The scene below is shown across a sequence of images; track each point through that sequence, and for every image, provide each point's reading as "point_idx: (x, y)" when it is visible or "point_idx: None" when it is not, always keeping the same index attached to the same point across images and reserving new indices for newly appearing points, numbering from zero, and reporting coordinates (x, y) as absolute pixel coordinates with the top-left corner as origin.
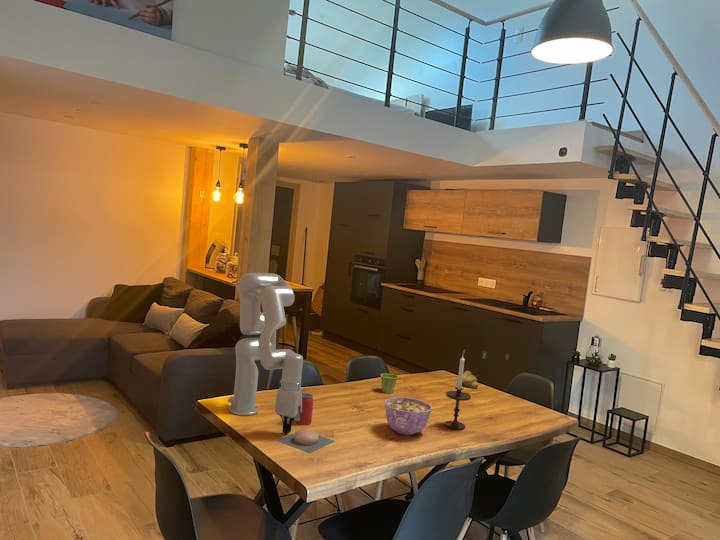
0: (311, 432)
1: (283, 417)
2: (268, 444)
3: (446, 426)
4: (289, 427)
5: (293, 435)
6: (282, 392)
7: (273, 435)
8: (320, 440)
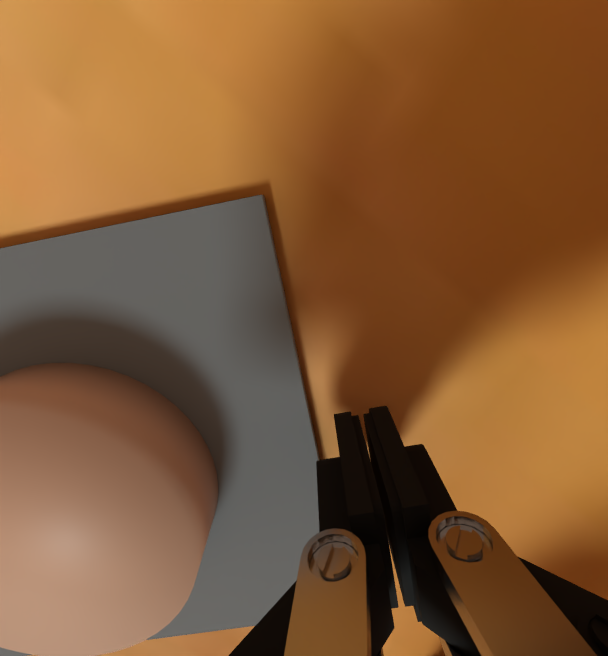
0: (64, 617)
1: (498, 616)
2: (242, 34)
3: None
4: (320, 506)
5: (281, 469)
6: None
7: (447, 306)
8: None
